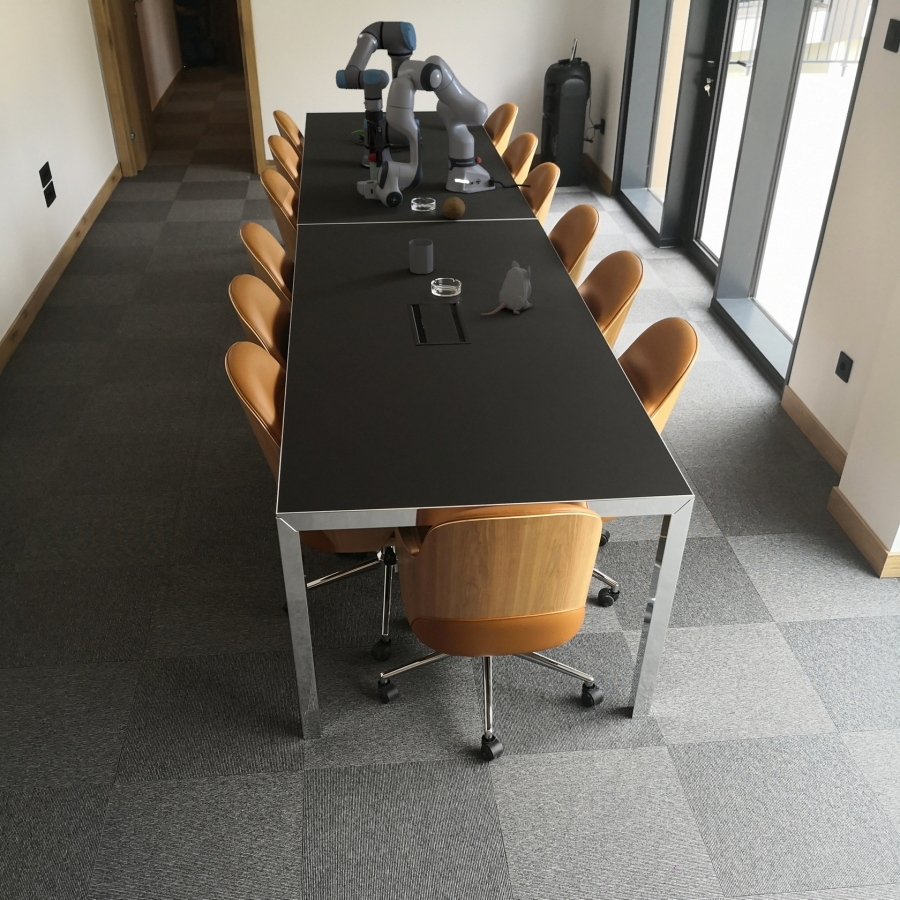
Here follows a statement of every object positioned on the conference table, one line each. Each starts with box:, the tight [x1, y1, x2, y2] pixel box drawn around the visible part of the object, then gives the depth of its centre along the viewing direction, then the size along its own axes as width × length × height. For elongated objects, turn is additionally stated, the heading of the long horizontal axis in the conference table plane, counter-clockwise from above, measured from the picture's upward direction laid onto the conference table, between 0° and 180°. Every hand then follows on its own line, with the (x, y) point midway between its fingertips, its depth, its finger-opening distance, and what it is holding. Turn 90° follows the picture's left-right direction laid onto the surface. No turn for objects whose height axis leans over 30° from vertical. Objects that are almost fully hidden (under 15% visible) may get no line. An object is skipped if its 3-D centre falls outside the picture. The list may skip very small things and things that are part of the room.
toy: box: [481, 259, 533, 316], centre depth 272 cm, size 9×24×15 cm, turn 137°
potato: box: [441, 196, 466, 220], centre depth 355 cm, size 10×14×8 cm
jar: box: [369, 162, 379, 181], centre depth 380 cm, size 6×6×17 cm
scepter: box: [349, 129, 365, 146], centre depth 465 cm, size 6×13×30 cm
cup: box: [408, 237, 434, 275], centre depth 305 cm, size 8×8×10 cm
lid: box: [369, 153, 383, 162], centre depth 375 cm, size 6×6×2 cm
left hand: (376, 164), depth 377 cm, fingers open, 8 cm apart
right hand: (376, 180), depth 381 cm, fingers closed on jar, 5 cm apart
